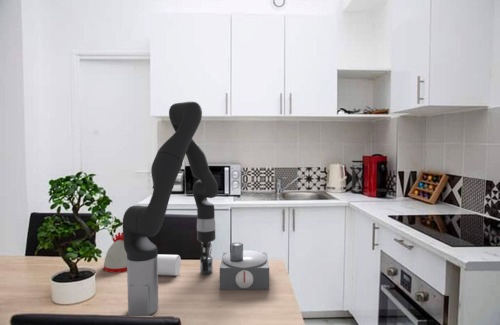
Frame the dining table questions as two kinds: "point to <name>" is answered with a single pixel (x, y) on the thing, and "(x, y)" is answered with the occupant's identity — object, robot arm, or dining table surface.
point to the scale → (245, 272)
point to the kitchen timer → (116, 256)
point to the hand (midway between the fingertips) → (206, 267)
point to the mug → (169, 264)
